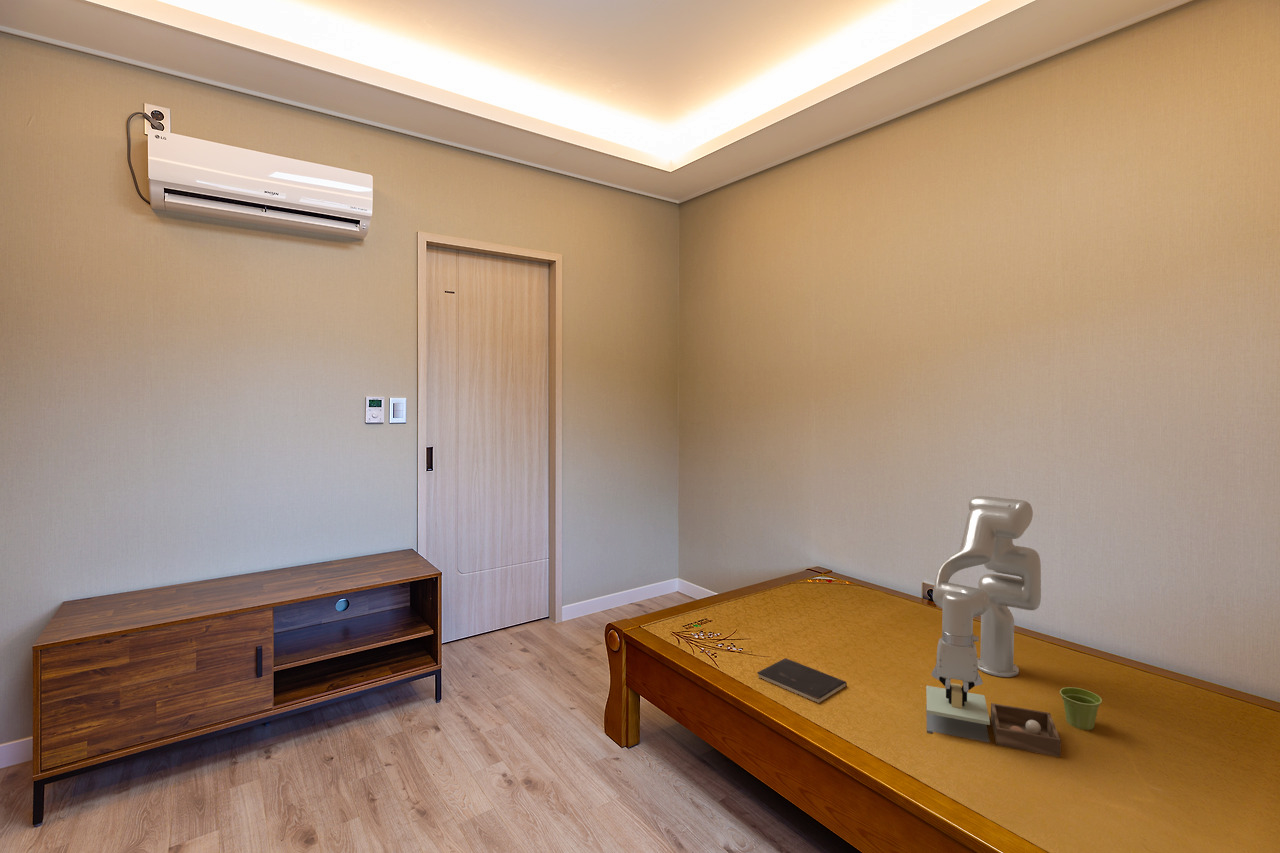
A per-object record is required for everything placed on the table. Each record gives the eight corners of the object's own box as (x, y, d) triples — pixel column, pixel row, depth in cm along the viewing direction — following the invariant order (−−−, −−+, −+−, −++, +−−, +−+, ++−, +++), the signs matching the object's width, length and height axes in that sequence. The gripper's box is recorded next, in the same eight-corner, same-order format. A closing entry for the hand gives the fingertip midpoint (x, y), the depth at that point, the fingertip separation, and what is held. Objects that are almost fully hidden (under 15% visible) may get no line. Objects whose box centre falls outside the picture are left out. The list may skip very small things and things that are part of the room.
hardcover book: (818, 705, 184) (818, 698, 184) (757, 679, 201) (757, 672, 201) (846, 687, 194) (846, 680, 194) (786, 663, 212) (786, 657, 211)
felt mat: (926, 706, 181) (926, 704, 181) (984, 716, 175) (984, 714, 175) (926, 732, 168) (926, 730, 168) (989, 744, 161) (989, 742, 161)
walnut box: (990, 720, 173) (991, 702, 173) (1049, 730, 167) (1050, 712, 167) (996, 746, 160) (996, 728, 160) (1060, 759, 155) (1060, 740, 154)
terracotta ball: (1007, 734, 165) (1007, 721, 164) (1023, 737, 163) (1023, 724, 163) (1009, 741, 161) (1009, 728, 161) (1025, 745, 160) (1025, 731, 160)
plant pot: (1083, 738, 164) (1084, 706, 163) (1050, 719, 173) (1051, 689, 172) (1109, 732, 166) (1110, 701, 166) (1076, 714, 175) (1077, 684, 175)
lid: (926, 688, 181) (926, 672, 180) (984, 698, 175) (984, 681, 174) (926, 713, 167) (927, 695, 167) (989, 725, 161) (990, 706, 161)
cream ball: (1024, 728, 167) (1024, 716, 167) (1039, 731, 166) (1040, 718, 166) (1026, 735, 164) (1026, 722, 164) (1042, 738, 163) (1042, 725, 162)
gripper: (989, 637, 170) (988, 701, 171) (925, 628, 176) (924, 690, 178) (992, 647, 163) (990, 714, 164) (925, 638, 170) (924, 703, 171)
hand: (956, 701), depth 171 cm, fingers closed on lid, 2 cm apart
